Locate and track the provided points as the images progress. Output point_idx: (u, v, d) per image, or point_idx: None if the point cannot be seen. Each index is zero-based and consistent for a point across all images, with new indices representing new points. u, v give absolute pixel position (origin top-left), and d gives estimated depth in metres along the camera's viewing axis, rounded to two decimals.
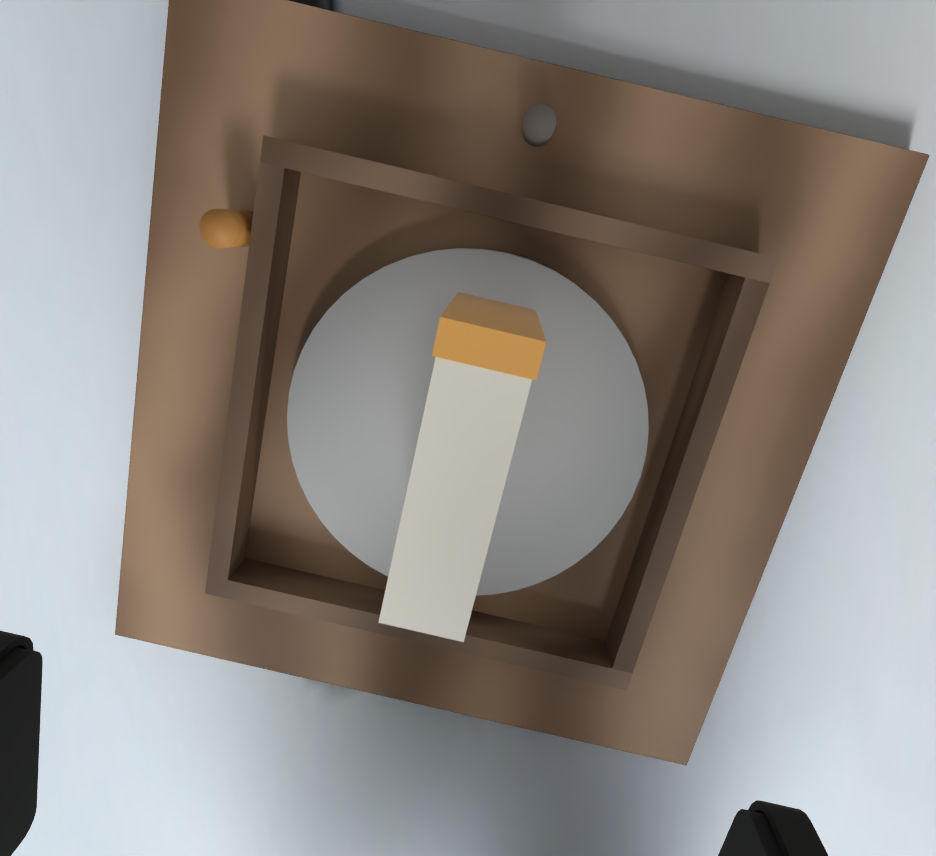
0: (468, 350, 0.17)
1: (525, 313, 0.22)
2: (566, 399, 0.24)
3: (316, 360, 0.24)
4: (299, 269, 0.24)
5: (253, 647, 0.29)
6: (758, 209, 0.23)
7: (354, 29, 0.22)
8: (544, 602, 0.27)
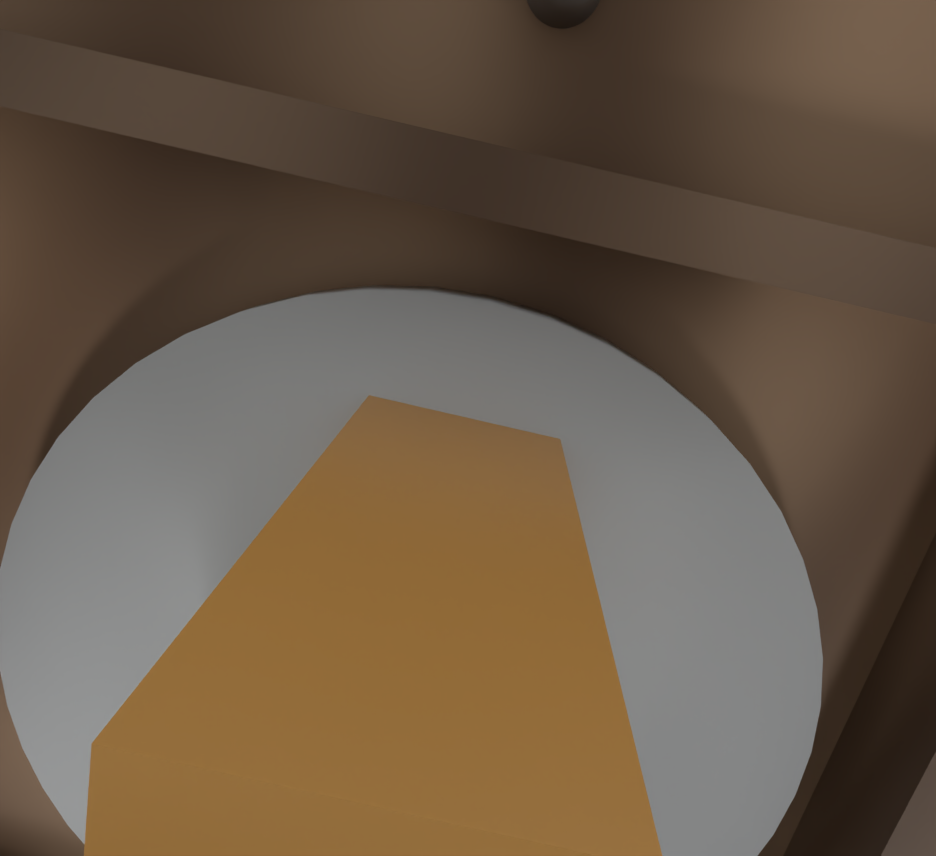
0: None
1: (536, 474, 0.08)
2: (630, 636, 0.10)
3: (48, 547, 0.10)
4: (10, 334, 0.10)
5: None
6: None
7: None
8: None
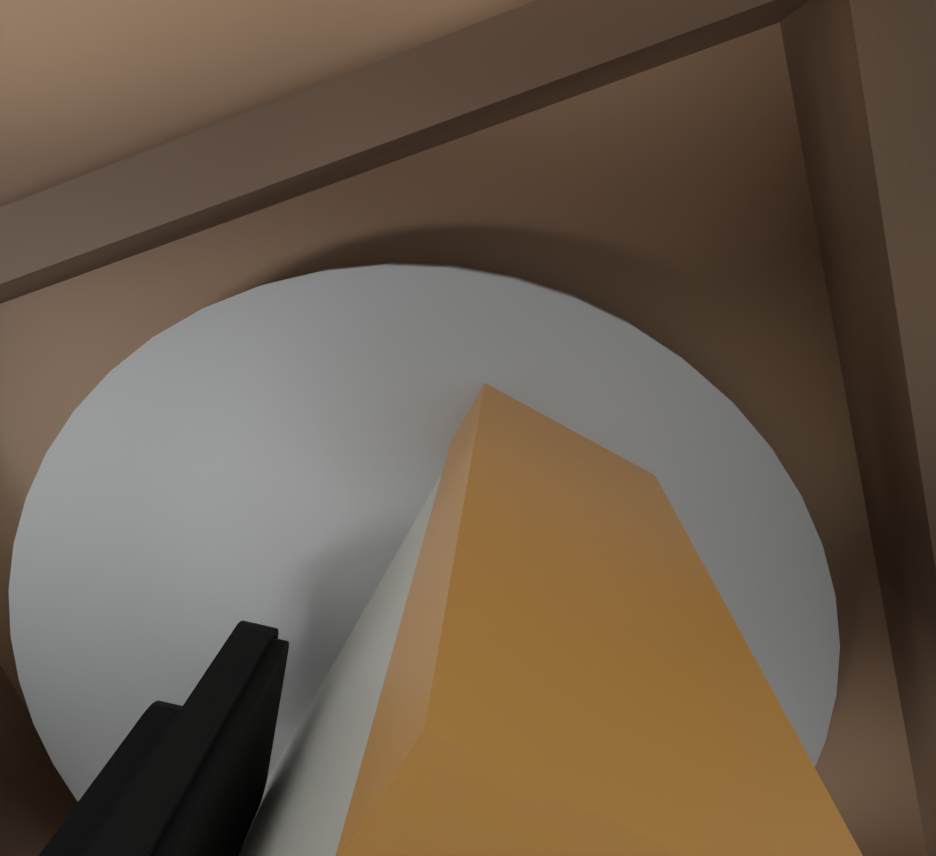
0: None
1: (652, 509, 0.08)
2: None
3: (105, 444, 0.10)
4: (543, 144, 0.09)
5: None
6: None
7: None
8: None
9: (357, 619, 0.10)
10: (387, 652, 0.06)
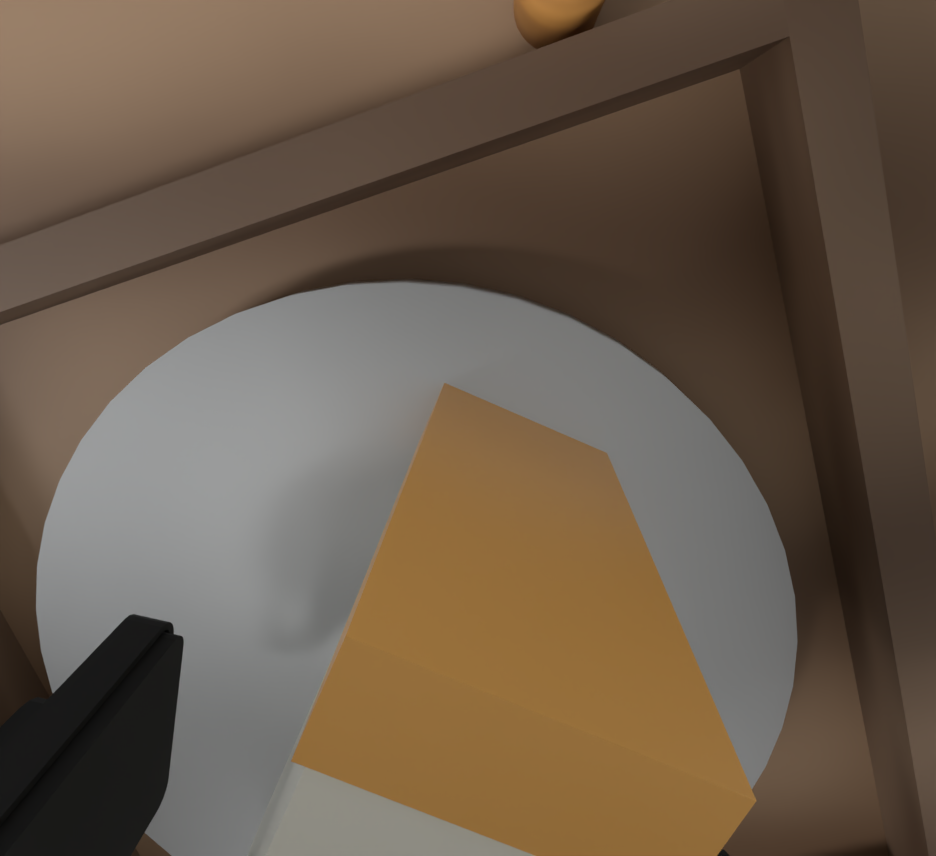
0: (439, 770, 0.04)
1: (596, 481, 0.09)
2: None
3: (111, 467, 0.11)
4: (529, 174, 0.10)
5: None
6: None
7: None
8: None
9: (352, 608, 0.11)
10: None
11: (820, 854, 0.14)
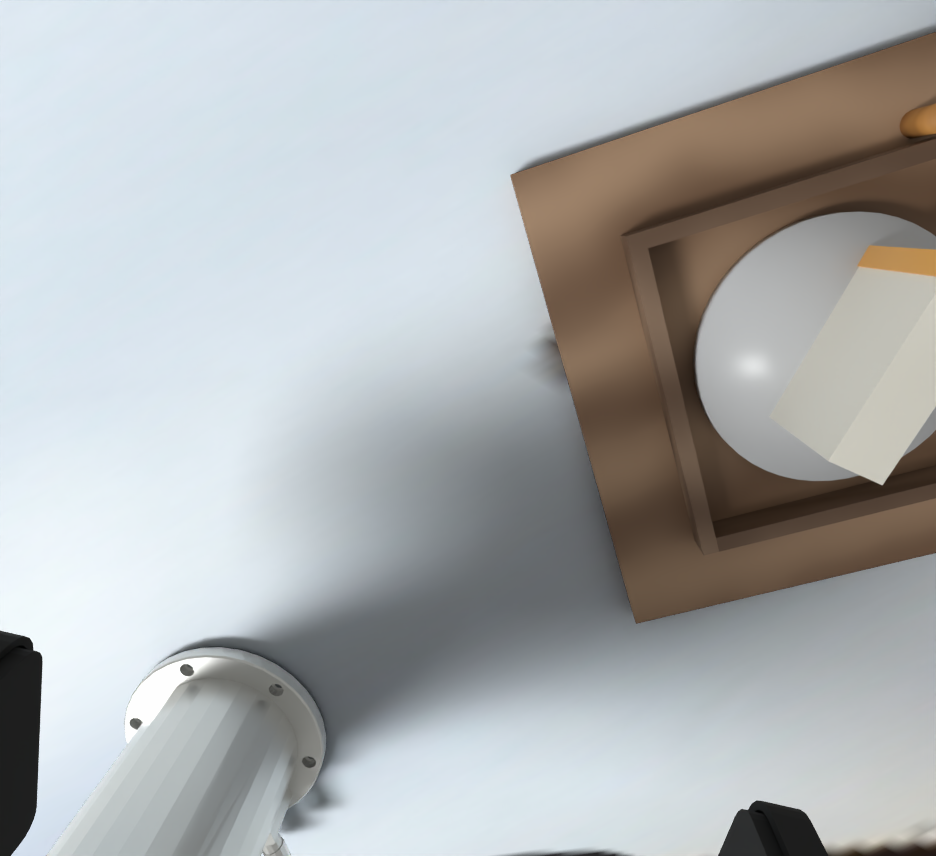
0: None
1: None
2: None
3: (745, 277, 0.32)
4: (897, 176, 0.31)
5: (562, 290, 0.33)
6: None
7: None
8: (715, 470, 0.36)
9: (820, 330, 0.32)
10: (899, 286, 0.28)
11: None
